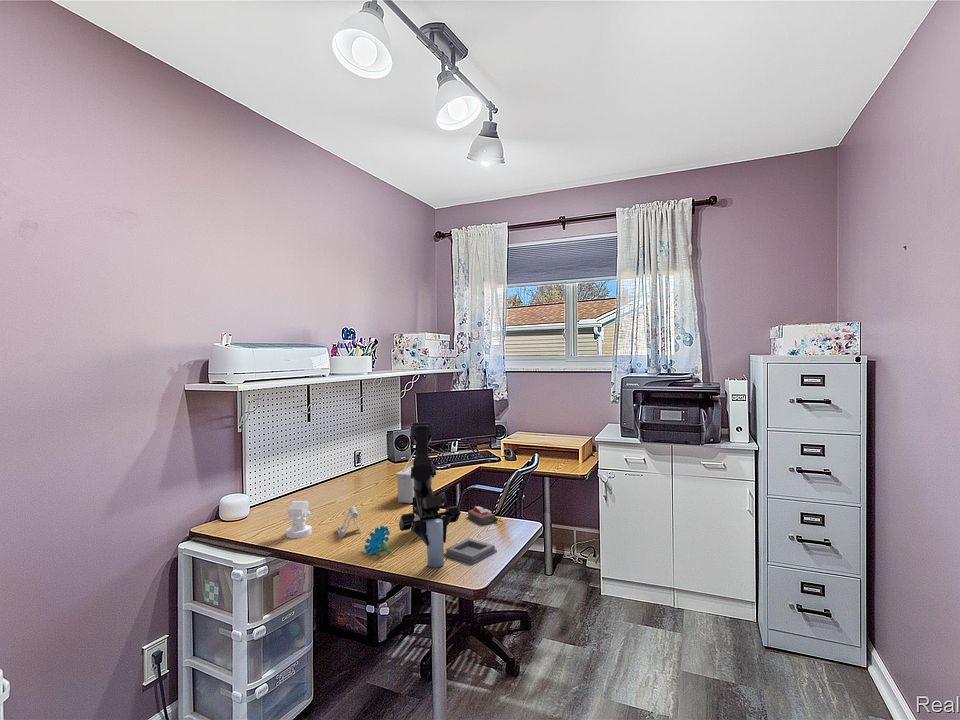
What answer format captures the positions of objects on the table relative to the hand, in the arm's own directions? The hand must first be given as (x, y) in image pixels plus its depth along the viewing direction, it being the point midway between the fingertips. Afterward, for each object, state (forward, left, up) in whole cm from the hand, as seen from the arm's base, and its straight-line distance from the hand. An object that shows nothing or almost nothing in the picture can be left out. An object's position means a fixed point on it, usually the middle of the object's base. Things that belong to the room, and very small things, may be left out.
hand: (436, 543), depth 147 cm
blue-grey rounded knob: (-1, +1, -7) cm, 7 cm away
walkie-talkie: (-19, +44, -8) cm, 48 cm away
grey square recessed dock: (+2, +14, -7) cm, 15 cm away
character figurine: (-61, -9, -7) cm, 62 cm away
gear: (-24, -3, -7) cm, 25 cm away
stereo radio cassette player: (-61, +48, -7) cm, 78 cm away
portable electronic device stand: (-47, +3, -7) cm, 48 cm away
